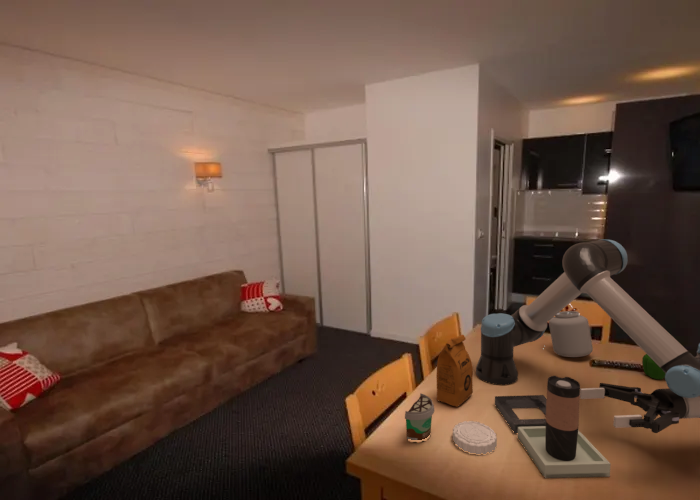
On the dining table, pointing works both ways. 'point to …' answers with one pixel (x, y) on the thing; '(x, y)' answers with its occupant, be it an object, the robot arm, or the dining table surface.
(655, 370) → the bell pepper
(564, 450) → the travel mug
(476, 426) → the mooncake
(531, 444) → the tray
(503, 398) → the holder frame
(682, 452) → the dining table surface
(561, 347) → the jar
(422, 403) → the food container
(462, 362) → the coffee package
